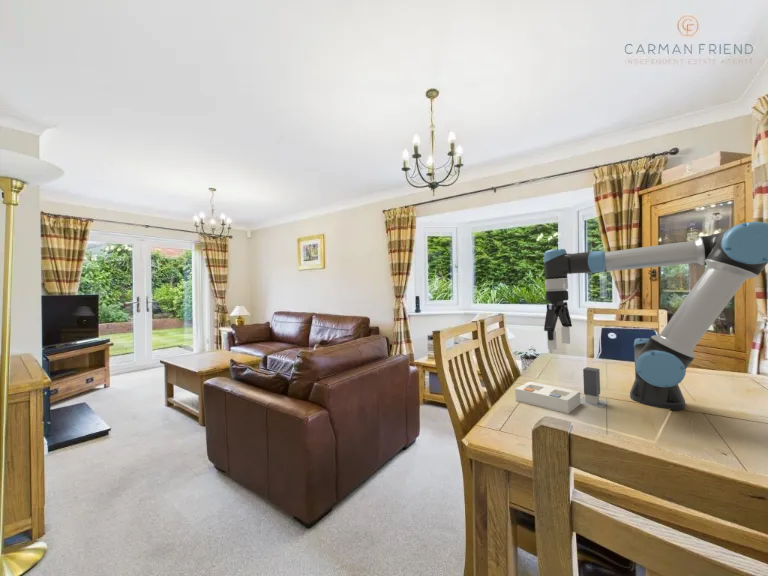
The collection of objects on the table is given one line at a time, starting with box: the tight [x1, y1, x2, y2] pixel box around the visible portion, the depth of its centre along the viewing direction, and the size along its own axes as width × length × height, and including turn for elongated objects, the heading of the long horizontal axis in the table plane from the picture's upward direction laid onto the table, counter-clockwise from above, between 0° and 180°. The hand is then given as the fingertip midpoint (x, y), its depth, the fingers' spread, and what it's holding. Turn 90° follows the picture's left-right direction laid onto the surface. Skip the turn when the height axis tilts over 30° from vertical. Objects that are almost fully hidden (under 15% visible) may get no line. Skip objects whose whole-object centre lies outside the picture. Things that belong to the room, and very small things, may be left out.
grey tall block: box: [582, 366, 601, 405], centre depth 115 cm, size 4×4×12 cm
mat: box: [580, 396, 609, 409], centre depth 115 cm, size 8×8×1 cm
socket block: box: [514, 381, 581, 415], centre depth 116 cm, size 18×12×5 cm, turn 41°
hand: (559, 346), depth 121 cm, fingers open, 13 cm apart
